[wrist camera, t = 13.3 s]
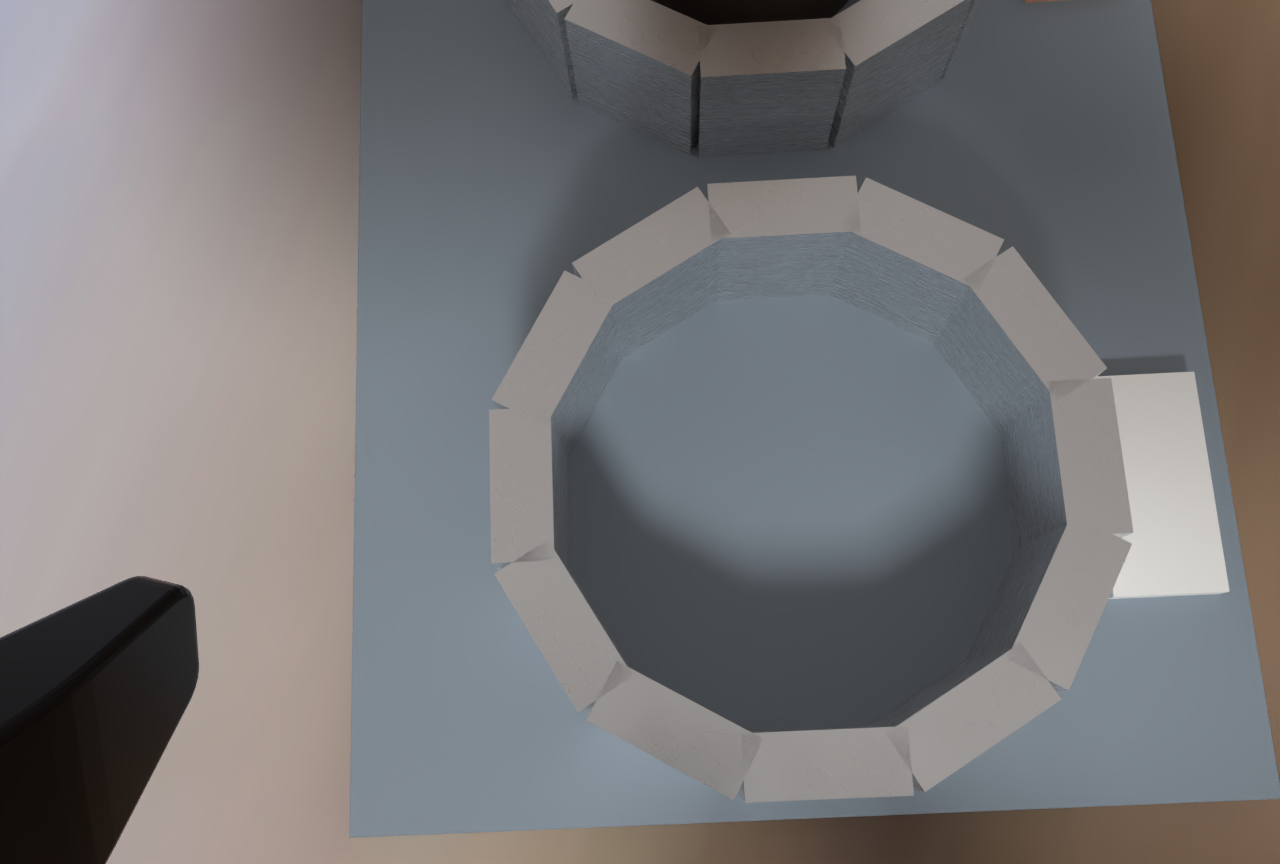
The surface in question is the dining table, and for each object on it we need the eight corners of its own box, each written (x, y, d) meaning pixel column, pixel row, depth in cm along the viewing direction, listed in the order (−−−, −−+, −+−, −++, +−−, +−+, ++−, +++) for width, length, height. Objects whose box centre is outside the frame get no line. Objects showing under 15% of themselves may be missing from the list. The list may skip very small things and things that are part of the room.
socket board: (1254, 795, 21) (1383, 812, 17) (364, 832, 22) (294, 856, 18) (1084, -274, 27) (1152, -443, 23) (377, -228, 27) (326, -386, 23)
